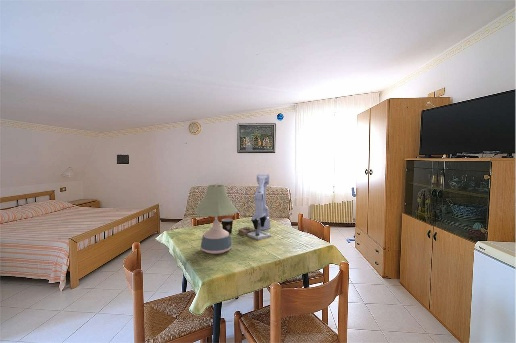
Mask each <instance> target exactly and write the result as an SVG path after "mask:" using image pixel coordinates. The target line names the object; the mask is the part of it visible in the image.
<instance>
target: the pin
mask: <svg viewBox="0 0 516 343" xmlns="http://www.w3.org/2000/svg"><path fill="white" fill-rule="evenodd" d="M260 231H261V230H260V223H259V222H258V228H257V229H255V235H256V236H259V235H260Z"/></svg>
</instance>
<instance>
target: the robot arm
mask: <svg viewBox="0 0 516 343" xmlns="http://www.w3.org/2000/svg"><path fill="white" fill-rule="evenodd" d="M256 182H257V184H258V186H257V187H256V189H255V190H256V192H255V193H254V197H253V198H254V207H255V209H254V210H255V211H254V214H253V216H251V222H252V224H253V229H257V228H258V222H259V223H260V231H264V230H268V229H271V220H270V217H269V216H270V214H269V213H270V210H269V209H270V208H269V207H268V206H267V205H266V204H267V203H266V201H267V200H266V199H267V186H268V185H270V174H268V173H267V174H266V173H265V174H264V173H263V174H262V173H257V174H256Z"/></svg>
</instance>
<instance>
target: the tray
mask: <svg viewBox="0 0 516 343" xmlns="http://www.w3.org/2000/svg"><path fill="white" fill-rule="evenodd" d="M271 235H272V234H271V233H268V232H266V231H264V230H260V235H259V236H256V235H255V232H251V233H248V235H247V237H249V238H252V239H254V240H257V241H259V240H263V239H267V238H271Z"/></svg>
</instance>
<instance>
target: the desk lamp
mask: <svg viewBox="0 0 516 343" xmlns="http://www.w3.org/2000/svg"><path fill="white" fill-rule="evenodd" d="M238 213H239V211H238V209H237V208H236V207H235V205H234V204H233V203H232V201H231V200H230V198H229V196H228V194H227V191H226V187H225V185H223V184H218V182H215V183H214V184H209V185H208V186H207V189H206V191H205V194H204V197H203V199H202V201H201V202H200V204H199V205H198V206H196V208H195V209H194V214H195V215H197V216H201V217H202V216H205V217H206V216H207V217H214V220H213V221H212V227H211V228H210V229H209V230H207V231H205V232H204V233H203V235H202V238H201V244H200V249H201V251H202V252H204V253H207V254H210V255H220V254H223V253H226V252H228V251H230V249H232V246H233V244H232V239H231V235H230V234H229V232H227V231H225V230H224V229H223V227H221V223H220V221H219V220H218V219H219V218H218V217H224V216H229V215H230V216H231V215H233V214H238Z"/></svg>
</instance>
